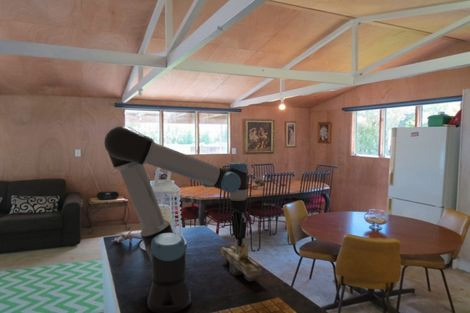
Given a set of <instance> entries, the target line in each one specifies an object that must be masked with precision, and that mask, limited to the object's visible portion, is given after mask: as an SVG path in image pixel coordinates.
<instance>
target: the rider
mask: <svg viewBox="0 0 470 313" xmlns="http://www.w3.org/2000/svg"><path fill="white" fill-rule="evenodd" d="M248 257H249V246H248V245H247V244H246V243H243V244H241V245H239V246H238V258H239V259H240V260H241V261H242V262H247V259H248Z"/></svg>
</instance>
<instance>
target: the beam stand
mask: <svg viewBox="0 0 470 313" xmlns="http://www.w3.org/2000/svg"><path fill="white" fill-rule="evenodd" d="M219 253H220V255H222V256H223V258H225V263H226V264H228V265H229V273H231V274H232V275H233V276H240V275H244V277H243V278H244V279H245V280H246V281H247V282H254V281H258V280H259V275H262V268H261V267H260V266H261V265H260V264H259V263H257V262H255V261H254V260H253V259H252V258H250V257H249V256H248V259H247V262H242V261H241V260H240V259H239V258H238V254H236V253H235V246H234V245H230V247H224V246H222V247H221V248H220V250H219Z"/></svg>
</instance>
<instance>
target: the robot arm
mask: <svg viewBox="0 0 470 313" xmlns="http://www.w3.org/2000/svg"><path fill="white" fill-rule="evenodd" d="M103 144H104V147H105V149H106V152H107V154H108V156H109V158H110V161H111V164H112V166H113V168H114V169H116V170H118V171H119V172H120V175H121V177H122V180H123V181H124V184H125V187H126V190H127V192H128V195H129V197H130V200H131V203H132V205H133V208H134V210H135V213H136V215H137V218H138V220H139V223H140V226H141V228H142V229H141V231H140V237H141V239H142V241H143V244H144V248H145V251H146V253H147V255H148V258H149V259H150V261H151V262H150V263H151V286H150V289H149V294H148V296H147V301H146V302H147V308H148V310H150V311H151V312H153V313H177V312H180V311H182V310H185V309H186V308H187V307H189V305H190V304H191V301H192V300H191V299H192V296H191V291H190V289H189V285H188V283H187V279H186V278H187V277H186V248H187V247H186V244H185V243H186V242H185V239H184V237H183V236H182V235H180V234H177V233H175V232H174V231H173V228H172V226H171V223H170V221H169V220H167V219H164V215H163V214H162V211H161V208H160V205H159V203H158V200H157V196H156V195H155V192H154V190H153V187H152V183H151V182H150V179H149V176H148V174H147V171H146V169H145V166H144V165H146V164H148V165H151V166H153V167H156V168H158V169H161V170H165V171H167V172H171V173H173V174H176V175H179V176H181V177H185V178H187V179H190V180H193V181H196V182H199V183H201V184H202V186H203V187H204V188H216V189H217V190H221V191H223V192H225V193H229V198H230V199H229V207H230V209H232V212H230V214H229V215H230V219H231V230H232V235H233V236H234V238H235V240H234V241H235V246H234V247H235V253H236V254H238V246H239V245H241V244H244V243H243V239H246V233H247V226H248V221H249V218H248V217H246V216H245V215H246V212H245V210H246V209H247V208H248V199H247V198H248V192H249V191H248V164H247V163H246V162H242V161H241V162H237V161H235V162H230V163H229V166H228V167H219V166H216V165H213V164H211V163H208V162H205V161H203V160H201V159H199V158H195V157H193V156H190V155H188V154H185V153H182V152H180V151H178V150H175V149H172V148H169V147H167V146H164V145H162V144H159V143H157V142H155V140H154V138H152V137H149V136H147V135H145V134H143V133H141V132H139V131H137V130H135V129H134V128H132V127H130V126H126V125H125V126H123V125H121V126H116V127H114V128H112V129H110V130H109V131H108V133H107V134H106V135H105V137H104V142H103Z"/></svg>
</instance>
